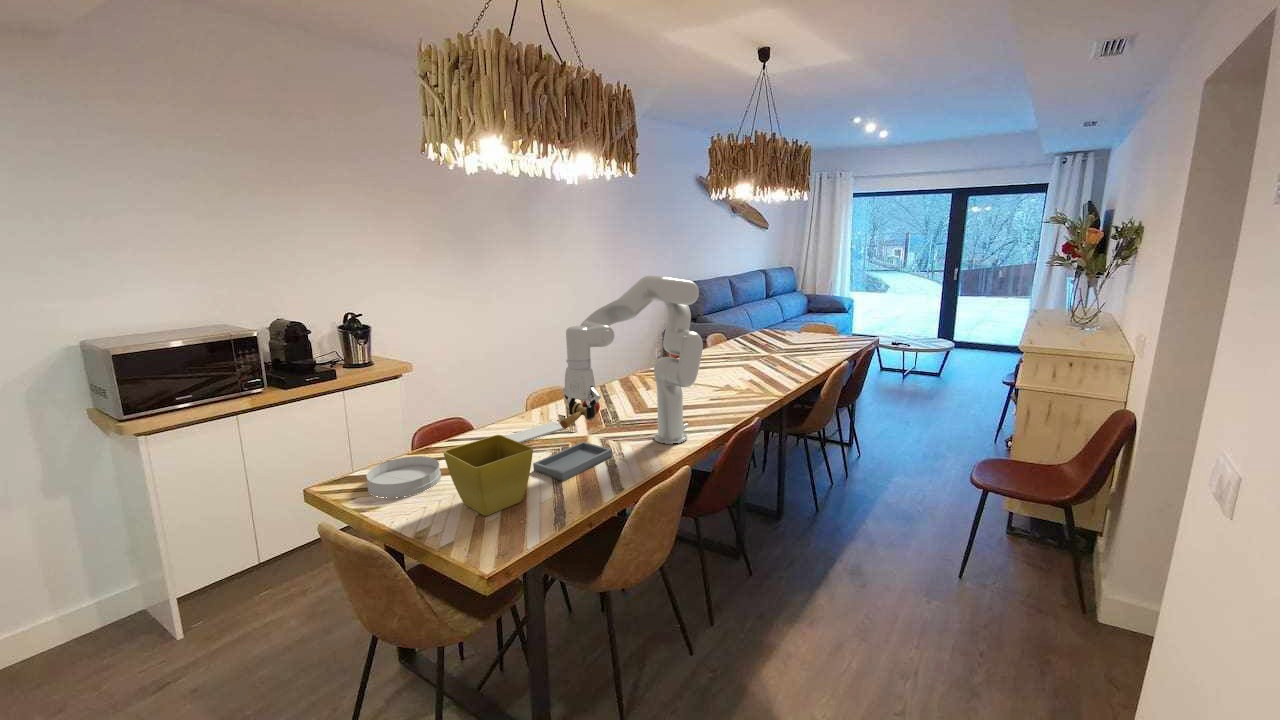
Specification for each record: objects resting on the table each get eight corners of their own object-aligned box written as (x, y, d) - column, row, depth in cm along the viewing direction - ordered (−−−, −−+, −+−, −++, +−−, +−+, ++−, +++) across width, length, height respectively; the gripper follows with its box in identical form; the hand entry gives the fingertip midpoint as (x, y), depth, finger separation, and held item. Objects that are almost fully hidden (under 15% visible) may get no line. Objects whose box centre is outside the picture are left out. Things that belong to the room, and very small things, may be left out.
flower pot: (503, 482, 179) (498, 433, 175) (538, 500, 166) (534, 447, 162) (447, 504, 165) (441, 451, 162) (481, 525, 153) (475, 468, 149)
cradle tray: (583, 448, 205) (582, 441, 204) (612, 456, 197) (611, 449, 196) (533, 471, 187) (533, 463, 186) (563, 481, 178) (562, 473, 178)
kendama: (576, 434, 176) (607, 410, 191) (571, 416, 175) (602, 393, 189) (558, 434, 181) (589, 411, 195) (552, 417, 179) (584, 395, 194)
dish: (455, 475, 186) (454, 461, 185) (404, 504, 167) (402, 489, 165) (406, 465, 195) (404, 452, 194) (351, 492, 175) (349, 478, 174)
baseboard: (483, 443, 215) (499, 451, 206) (482, 436, 214) (498, 444, 206) (549, 423, 236) (566, 430, 227) (549, 416, 235) (566, 423, 226)
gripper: (552, 363, 184) (555, 414, 188) (591, 369, 174) (594, 423, 178) (567, 359, 190) (570, 408, 194) (607, 364, 180) (609, 417, 184)
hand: (581, 415), depth 186 cm, fingers closed on kendama, 7 cm apart
